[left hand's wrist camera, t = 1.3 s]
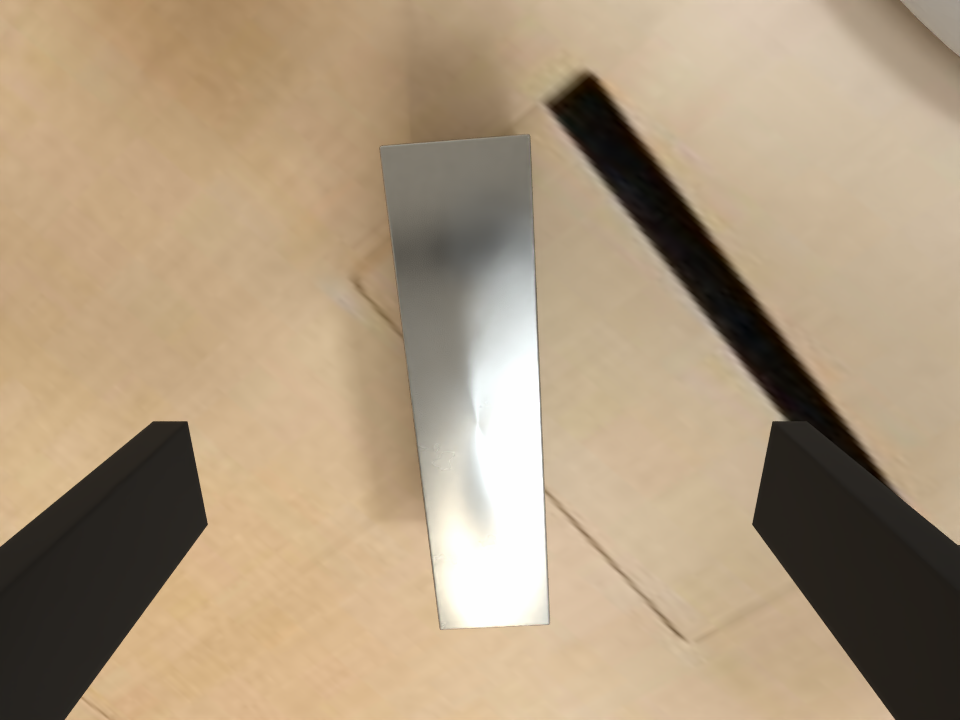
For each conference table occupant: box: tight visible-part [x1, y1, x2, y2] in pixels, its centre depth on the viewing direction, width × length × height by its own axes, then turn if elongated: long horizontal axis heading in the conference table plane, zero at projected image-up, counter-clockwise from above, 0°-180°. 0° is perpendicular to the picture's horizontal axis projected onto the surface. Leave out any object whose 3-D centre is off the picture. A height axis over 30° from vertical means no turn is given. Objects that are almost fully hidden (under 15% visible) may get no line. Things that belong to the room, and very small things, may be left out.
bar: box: [379, 134, 550, 630], centre depth 27 cm, size 21×5×8 cm, turn 4°
